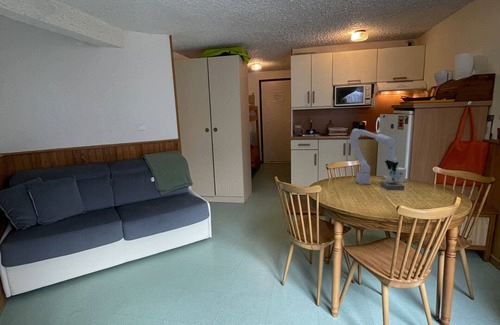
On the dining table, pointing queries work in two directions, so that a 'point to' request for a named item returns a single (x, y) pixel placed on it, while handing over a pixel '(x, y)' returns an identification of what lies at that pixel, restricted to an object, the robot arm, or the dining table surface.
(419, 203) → the dining table surface
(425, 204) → the dining table surface
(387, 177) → the plug
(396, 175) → the light bulb box
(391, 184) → the socket
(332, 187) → the dining table surface
